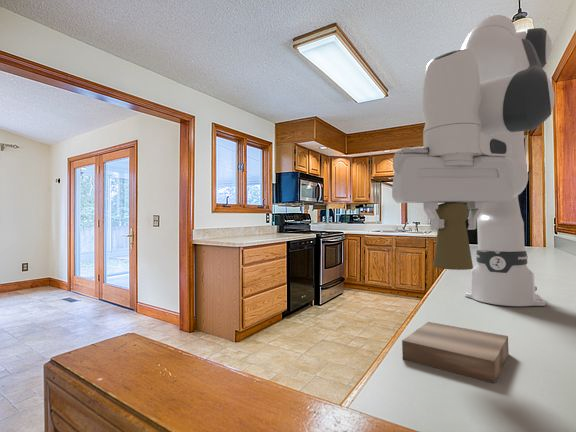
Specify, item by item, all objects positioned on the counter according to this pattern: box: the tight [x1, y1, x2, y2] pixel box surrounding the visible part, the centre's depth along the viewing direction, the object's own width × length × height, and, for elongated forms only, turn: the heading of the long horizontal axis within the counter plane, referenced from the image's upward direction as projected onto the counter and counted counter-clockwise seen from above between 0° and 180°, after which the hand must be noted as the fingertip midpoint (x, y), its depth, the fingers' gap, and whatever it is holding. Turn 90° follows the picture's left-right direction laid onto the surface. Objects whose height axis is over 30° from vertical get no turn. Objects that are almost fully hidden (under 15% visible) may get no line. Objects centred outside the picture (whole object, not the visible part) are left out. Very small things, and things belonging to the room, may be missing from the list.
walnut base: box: [401, 321, 509, 384], centre depth 54 cm, size 13×13×3 cm
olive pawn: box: [432, 202, 474, 271], centre depth 54 cm, size 6×6×11 cm
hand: (453, 229), depth 54 cm, fingers closed on olive pawn, 4 cm apart
